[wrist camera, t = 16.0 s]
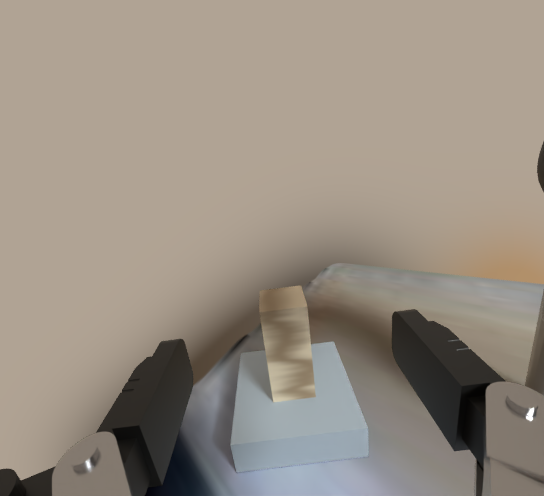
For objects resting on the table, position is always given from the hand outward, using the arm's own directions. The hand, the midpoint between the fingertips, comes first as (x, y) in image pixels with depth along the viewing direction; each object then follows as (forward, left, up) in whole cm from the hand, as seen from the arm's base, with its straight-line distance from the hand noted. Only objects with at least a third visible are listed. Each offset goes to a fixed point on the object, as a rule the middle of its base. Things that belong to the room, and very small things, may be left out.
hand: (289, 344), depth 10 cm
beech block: (0, -19, -20) cm, 27 cm away
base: (0, -19, -24) cm, 30 cm away
